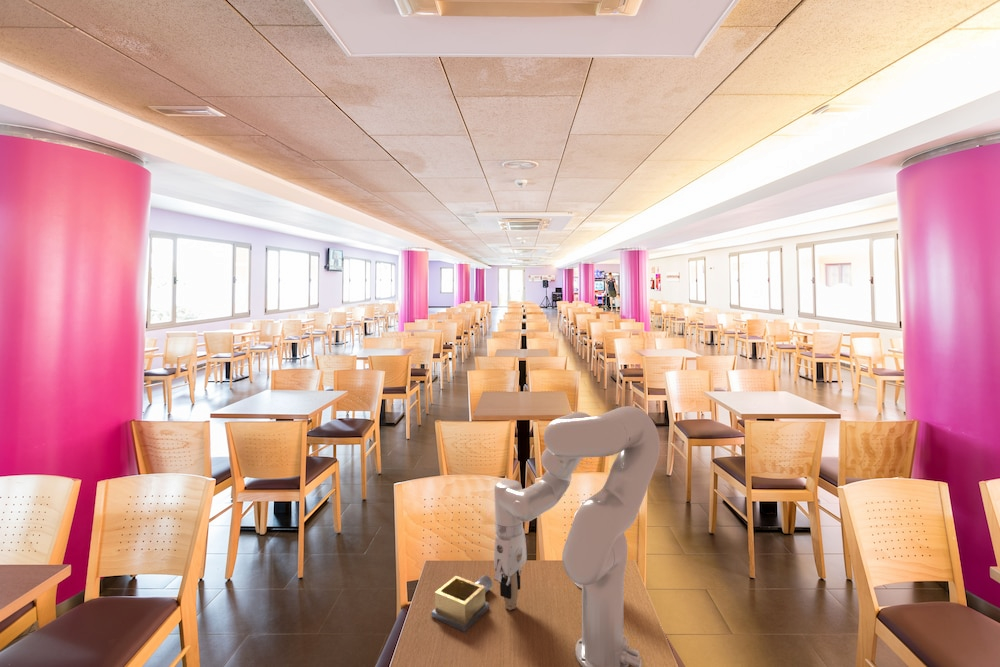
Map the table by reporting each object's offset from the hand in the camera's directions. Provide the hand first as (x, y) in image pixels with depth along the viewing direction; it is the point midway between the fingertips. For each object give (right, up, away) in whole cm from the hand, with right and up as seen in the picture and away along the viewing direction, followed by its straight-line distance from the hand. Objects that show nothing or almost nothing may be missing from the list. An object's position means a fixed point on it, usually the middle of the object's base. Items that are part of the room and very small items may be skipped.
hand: (510, 591), depth 129 cm
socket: (-12, -4, +1) cm, 12 cm away
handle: (0, -4, 0) cm, 4 cm away
